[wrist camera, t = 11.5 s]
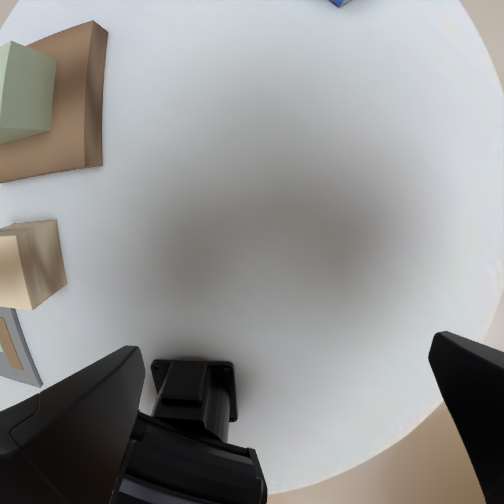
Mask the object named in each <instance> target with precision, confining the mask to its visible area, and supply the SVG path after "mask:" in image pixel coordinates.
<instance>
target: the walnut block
mask: <svg viewBox="0 0 504 504" xmlns="http://www.w3.org/2000/svg"><path fill="white" fill-rule="evenodd" d="M107 39H108V32H107V31H106V30H105V29H103V28H102V27H101V26H100V25H99V24H97V23H96V22H95V21H94V20H93V21H89V22H86V23H83V24H80V25H77V26H74V27H71V28H69V29H66V30H63V31H61V32H58V33H55V34H53V35H50V36H48V37H45V38H43V39H41V40H38V41H36V42H34V43H32V44H29V45H27V46H25V47H28V48H30V49H33V50H35V51H38V52H40V53H42V54H45V55H47V56H49V57H52V58H54V59H56V60H57V64H56V72H55V80H54V90H53V102H52V119H51V131H48V132H44V133H40V134H36V135H32V136H28V137H24V138H21V139H17V140H14V141H10V142H7V143H4V144H0V183H4V182H9V181H14V180H19V179H23V178H28V177H33V176H39V175H44V174H50V173H55V172H61V171H68V170H74V169H81V168H88V167H95V166H102V165H103V163H102V103H103V83H104V69H105V57H106V47H107Z"/></svg>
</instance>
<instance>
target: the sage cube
mask: <svg viewBox="0 0 504 504" xmlns="http://www.w3.org/2000/svg"><path fill="white" fill-rule="evenodd" d="M56 64H57V60H56V59H54V58H52V57H49V56H47V55H45V54H42V53H40V52H38V51H35V50H33V49H30V48H28V47H25V46H23V45H20V44H18V43H15V42H13V41H10V42H8V43H6V44H4V45H2V46H1V47H0V144H4V143H7V142H10V141H14V140H17V139H21V138H24V137H28V136H32V135H36V134H40V133H44V132H48V131H51V119H52V102H53V90H54V80H55V72H56Z"/></svg>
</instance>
